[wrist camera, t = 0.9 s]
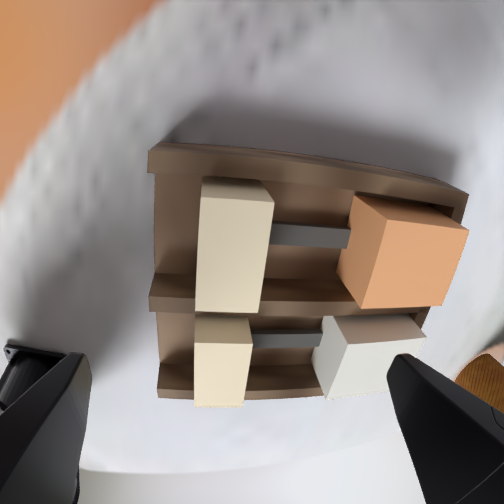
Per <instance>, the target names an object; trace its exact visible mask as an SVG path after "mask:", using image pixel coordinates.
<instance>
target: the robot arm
mask: <svg viewBox="0 0 504 504" xmlns="http://www.w3.org/2000/svg"><path fill="white" fill-rule="evenodd" d="M4 352H5V355H6V357H7V359H8V362H9V363H8V365H7V367H6V369H5V371H4V373H3V375H2V377H1V379H0V504H77V502H78V499H79V492H80V489H79V488H80V487H79V460H80V455H81V450H82V445H83V441H84V436H85V431H86V424H87V415H88V407H89V399H90V391H91V384H92V375H91V371H90V368H89V364H88V360H87V357H86V355H85V354H83V353H76V352H71V353H69V354H68V355H67V356H65V355H64V354H59V353H53V352H47V351H41V350H35V349H29V348H24V347H19V346H14V345H9V344H6V345H5V347H4ZM386 378H387V383H388V387H389V390H390V394H391V398H392V401H393V405H394V409H395V413H396V416H397V420H398V423H399V426H400V428H401V431H402V433H403V436H404V439H405V442H406V445H407V448H408V450H409V453H410V456H411V459H412V462H413V465H414V468H415V470H416V474H417V477H418V480H419V483H420V486H421V489H422V492H423V495H424V498H425V502H426V504H504V413H502V412H501V411H499V410H498V409H496V408H494V407H493V406H490V404H488V403H486V402H485V401H483V400H482V399H480V398H479V397H477V396H475V395H474V394H472V393H471V392H469V391H467V390H466V389H464V388H463V387H461V386H460V385H458V384H456V383H455V382H453V381H452V380H450V379H449V378H447V377H445V376H444V375H442V374H441V373H439V372H437V371H436V370H434V369H433V368H431V367H430V366H428V365H426V364H425V363H423V362H422V361H420V360H419V359H417V358H415V357H414V356H412V355H411V354H409V353H403V354H397V355H396V356H395V357H394V359H393V361H392V364H391V366H390V368H389V369H388V372H387V375H386Z"/></svg>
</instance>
